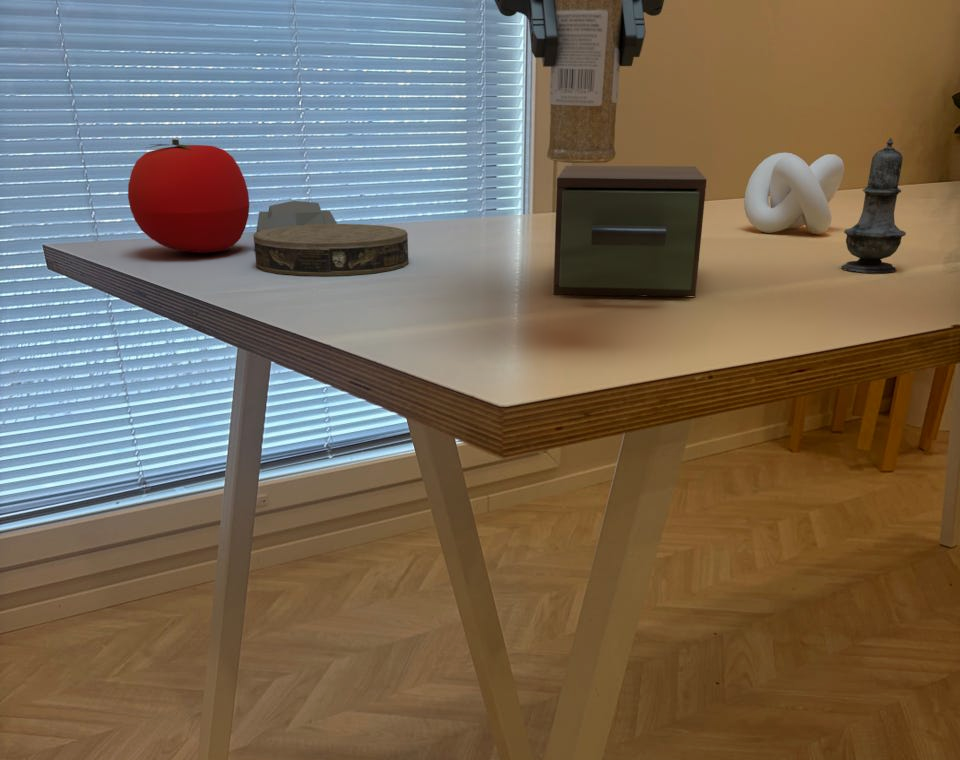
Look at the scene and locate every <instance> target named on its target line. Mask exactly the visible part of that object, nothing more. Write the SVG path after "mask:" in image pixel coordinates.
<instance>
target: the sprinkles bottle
mask: <svg viewBox="0 0 960 760" xmlns="http://www.w3.org/2000/svg"><path fill="white" fill-rule="evenodd" d="M554 4H555V15H556V25H557V36H558V43H557V52H556V59H555V66H554V67H550V80H549V81H550V82H549V83H550V84H549V105H550V113H549V114H550V119H549V120H550V122H549V144H548V148H547V152H546V153H547V154H546V157H547V159H549V160H551V161H554V162H557V163H558V162H559V163H567V164H604V163H609V162H611V161H612V160H614V159H615V157H616V150H615V140H616V139H615V138H616V119H617V117H616V115H617V104H618V99H619V84H620V67H621V66H620V32H621V10H622V0H554Z"/></svg>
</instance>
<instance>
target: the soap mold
mask: <svg viewBox="0 0 960 760" xmlns="http://www.w3.org/2000/svg"><path fill="white" fill-rule="evenodd" d="M257 217H258V218H257V225H256V231H255V233H256V232H259V231H262V230H266V229H272V228H278V227H287V226H297V225H315V224H338V223H337V220H336V218H335V217H334V216H333V214H332V212H331V210H330V209H329V210H327V209H326V210H325V209H324V210H323V209H321V206H320V203H319V202H313V201H312V202H311V201H301V200H290V201H287V202H281V203H277V204H271V205H269V207H268V211H267V210H266V211H259V212H258V216H257ZM253 251H254V252H255V246H254V249H253Z"/></svg>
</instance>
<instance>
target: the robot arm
mask: <svg viewBox="0 0 960 760" xmlns="http://www.w3.org/2000/svg"><path fill="white" fill-rule="evenodd" d="M493 1H494V3H495V5H496V7H497V10H498V11H499V13H500V14H501V15H502V16H504V17H513V16H515V15H517V13H519V14H521V15H524V16H525V17H526V18H527V20H528V26H529V37H530V51H531V53H532V54H533V57H534V58H535V59H538V58H539V59H541V62H542V67H543V68H545V67H547V68H549V67H550V68H551V67H554V66H555V59H556V52H557V43H558V36H557V25H556V15H555V4H554V0H493ZM664 3H665V0H622V10H621V32H620V67H632V66H633V64H634V58H640V56H641V53H642V50H643V45H644V41H645V37H646V33H647V30H646V23H645V14H647V15H649V16H650V17H654V16H655V17H657V16H659V15H660V14H661V13H662V11H663V7H664ZM644 13H645V14H644Z"/></svg>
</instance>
